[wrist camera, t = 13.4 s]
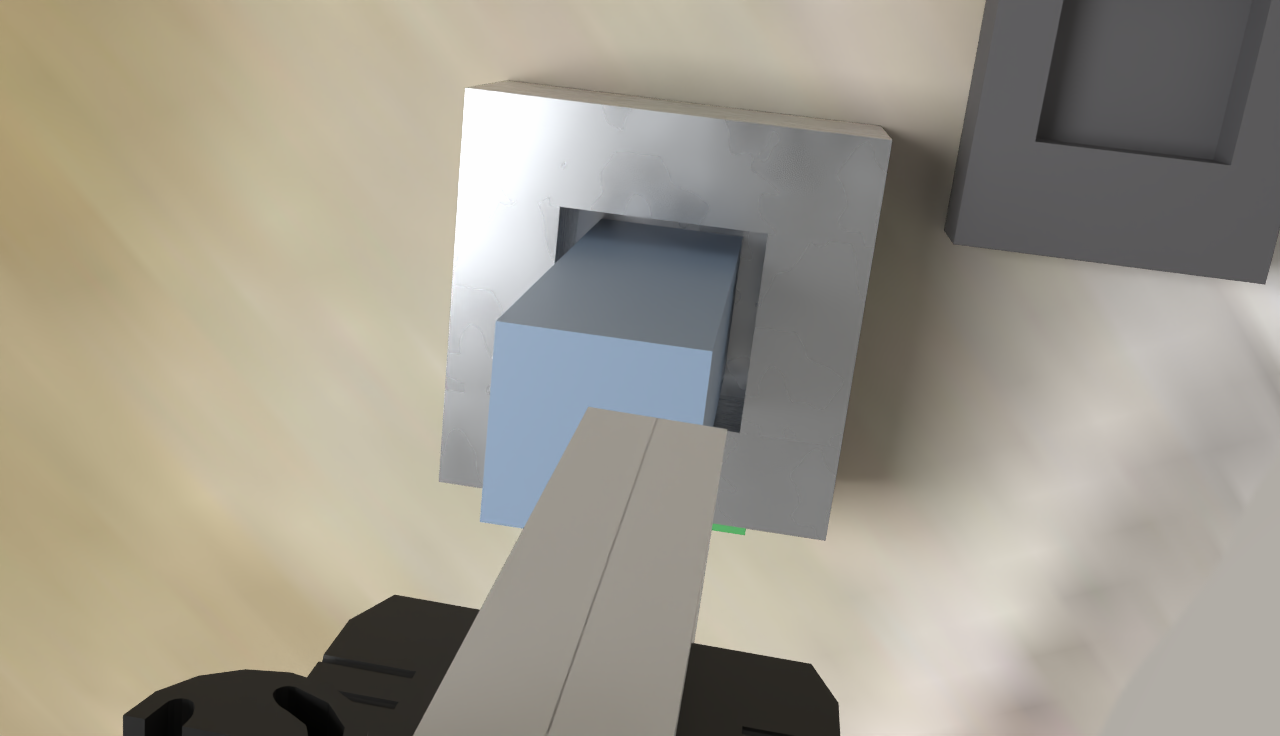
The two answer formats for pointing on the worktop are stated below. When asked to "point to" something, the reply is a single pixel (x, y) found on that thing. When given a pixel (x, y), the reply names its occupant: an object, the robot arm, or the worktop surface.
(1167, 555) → the worktop surface
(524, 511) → the plug
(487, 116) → the block
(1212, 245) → the dark grey flat frame
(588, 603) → the robot arm
